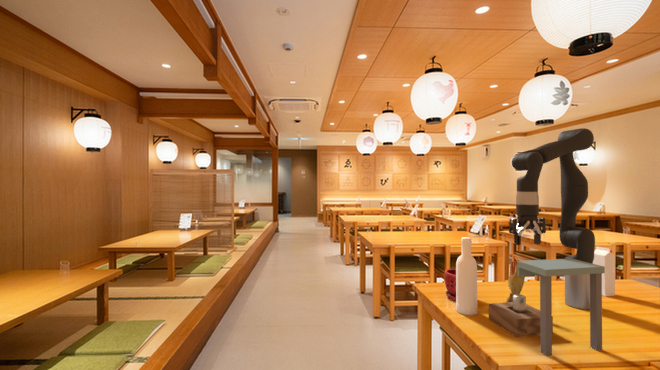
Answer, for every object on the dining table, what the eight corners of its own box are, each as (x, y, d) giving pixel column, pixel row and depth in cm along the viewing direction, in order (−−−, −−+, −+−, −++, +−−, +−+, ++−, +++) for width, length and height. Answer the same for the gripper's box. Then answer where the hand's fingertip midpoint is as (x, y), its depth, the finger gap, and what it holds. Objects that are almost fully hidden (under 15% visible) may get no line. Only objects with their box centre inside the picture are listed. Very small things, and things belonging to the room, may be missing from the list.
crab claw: (526, 312, 122) (526, 263, 123) (516, 314, 121) (516, 264, 121) (511, 306, 129) (511, 259, 129) (502, 307, 127) (501, 260, 128)
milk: (601, 291, 147) (601, 245, 148) (615, 295, 141) (615, 248, 142) (591, 292, 146) (591, 246, 146) (605, 296, 140) (605, 248, 140)
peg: (520, 320, 113) (519, 293, 113) (528, 325, 109) (528, 297, 109) (510, 321, 112) (510, 294, 112) (518, 326, 108) (518, 298, 108)
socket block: (521, 316, 119) (521, 301, 119) (552, 333, 105) (552, 316, 105) (488, 319, 116) (488, 303, 116) (516, 337, 103) (516, 319, 103)
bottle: (476, 317, 118) (475, 240, 118) (454, 312, 122) (454, 238, 123) (478, 310, 125) (478, 237, 125) (457, 306, 129) (457, 235, 129)
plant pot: (466, 306, 129) (466, 278, 129) (439, 297, 140) (438, 271, 140) (481, 299, 137) (481, 272, 137) (454, 291, 148) (454, 266, 148)
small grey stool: (571, 333, 105) (571, 258, 105) (605, 350, 94) (604, 266, 94) (517, 338, 102) (517, 260, 102) (546, 356, 91) (545, 269, 91)
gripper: (535, 202, 124) (535, 242, 124) (504, 203, 122) (504, 243, 122) (551, 203, 117) (551, 245, 117) (518, 204, 115) (518, 247, 114)
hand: (527, 244), depth 119 cm, fingers open, 8 cm apart
